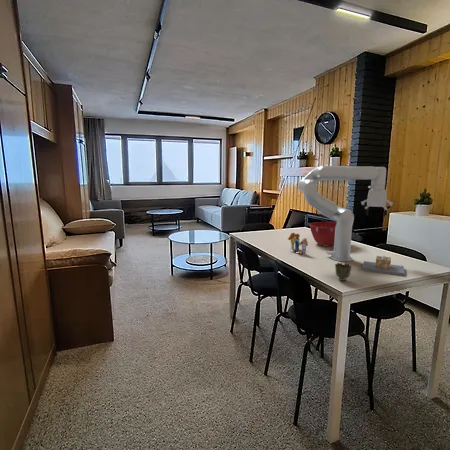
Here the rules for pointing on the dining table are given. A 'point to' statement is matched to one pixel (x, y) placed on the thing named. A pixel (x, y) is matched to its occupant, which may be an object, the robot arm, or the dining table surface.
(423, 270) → the dining table surface
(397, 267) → the needle board
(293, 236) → the doll family
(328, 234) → the mixing bowl
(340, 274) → the cup
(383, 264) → the oak bead
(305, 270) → the dining table surface
